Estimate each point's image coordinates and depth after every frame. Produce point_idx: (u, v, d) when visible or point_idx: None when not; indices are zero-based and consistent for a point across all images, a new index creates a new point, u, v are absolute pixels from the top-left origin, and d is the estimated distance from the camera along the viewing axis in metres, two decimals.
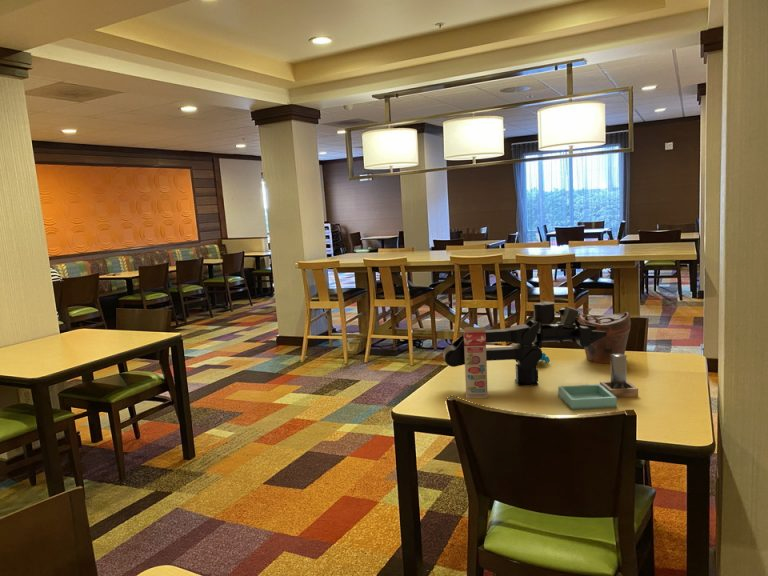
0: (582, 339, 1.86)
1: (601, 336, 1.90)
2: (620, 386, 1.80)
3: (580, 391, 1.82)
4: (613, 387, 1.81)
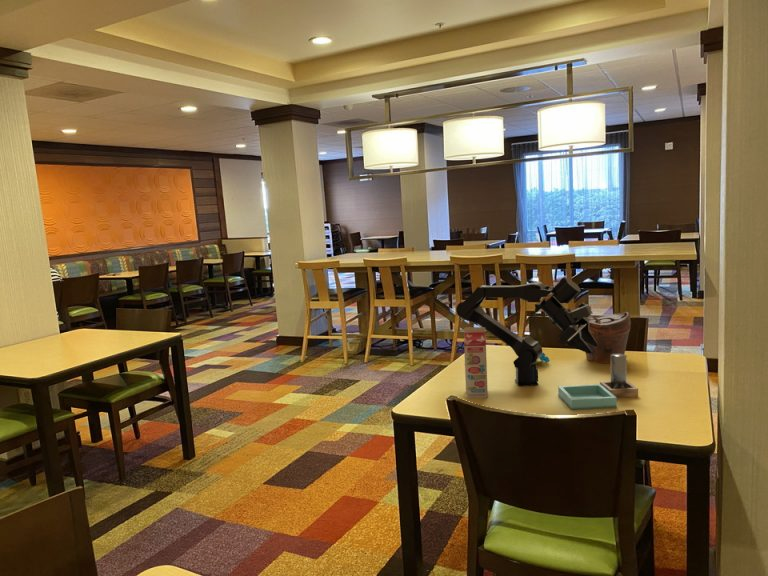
0: (563, 334, 1.79)
1: (583, 349, 1.81)
2: (620, 386, 1.80)
3: (580, 391, 1.82)
4: (613, 387, 1.81)
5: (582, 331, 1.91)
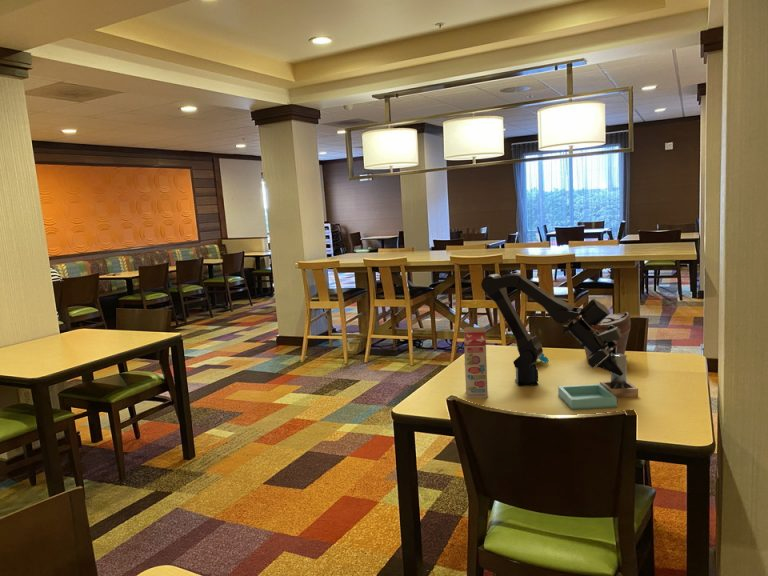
0: (593, 358, 1.76)
1: (614, 371, 1.79)
2: (620, 386, 1.80)
3: (580, 391, 1.82)
4: (613, 387, 1.81)
5: None
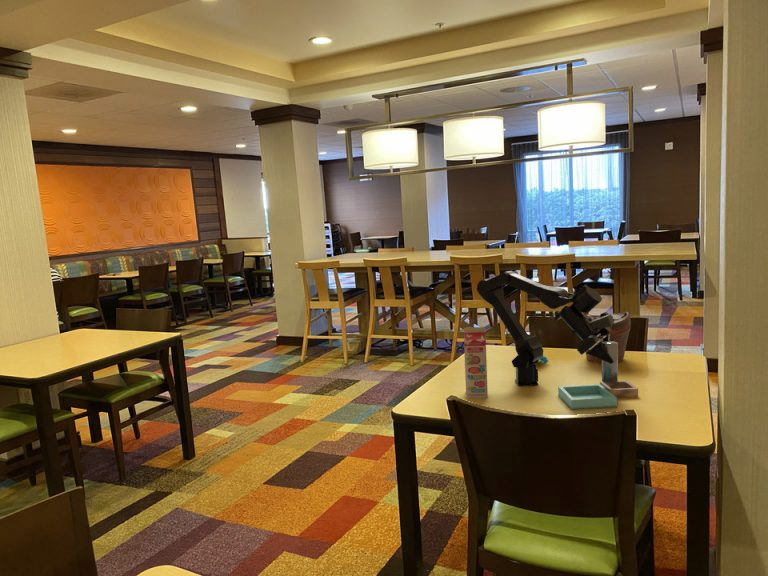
0: (582, 344, 1.73)
1: (605, 359, 1.76)
2: (611, 374, 1.77)
3: (580, 391, 1.82)
4: (603, 375, 1.78)
5: None
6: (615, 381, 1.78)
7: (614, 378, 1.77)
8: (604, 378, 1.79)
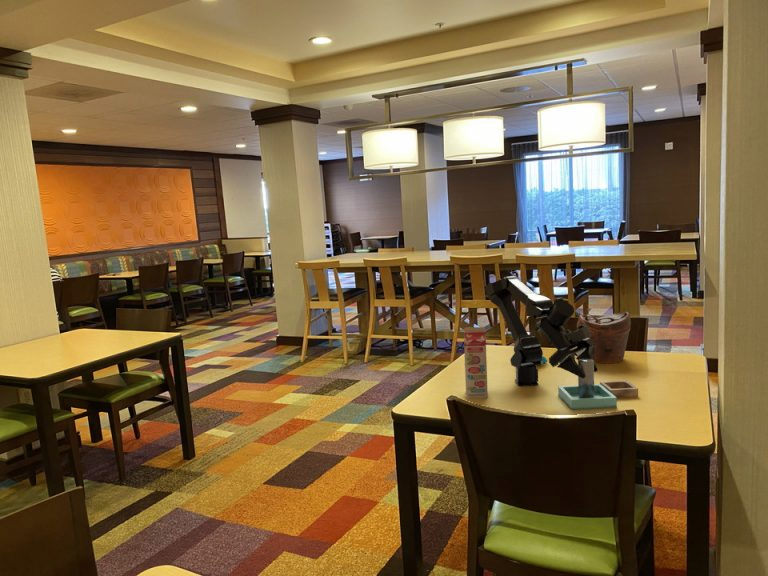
0: (552, 356, 1.72)
1: (576, 373, 1.73)
2: (586, 392, 1.74)
3: None
4: (579, 393, 1.76)
5: (583, 354, 1.80)
6: None
7: (589, 396, 1.74)
8: (579, 395, 1.76)
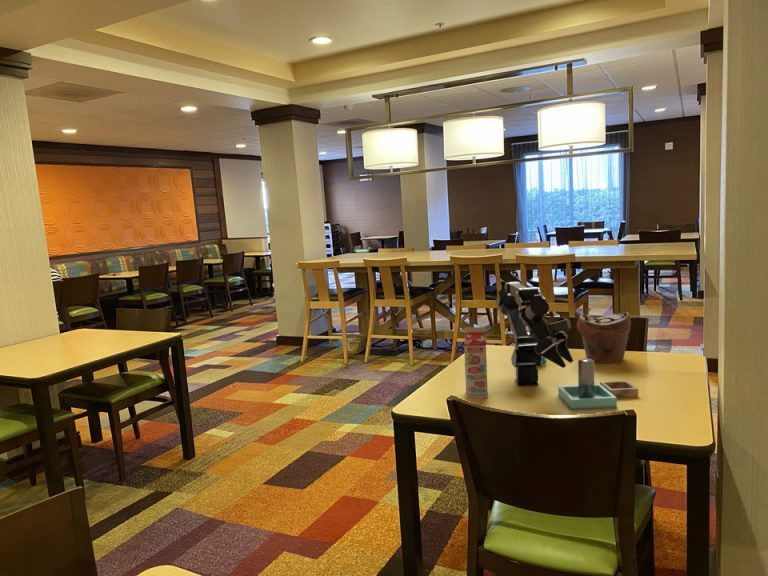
0: (539, 344, 1.77)
1: (558, 363, 1.78)
2: (586, 392, 1.74)
3: None
4: (579, 393, 1.76)
5: (559, 345, 1.88)
6: None
7: (589, 396, 1.74)
8: (579, 395, 1.76)
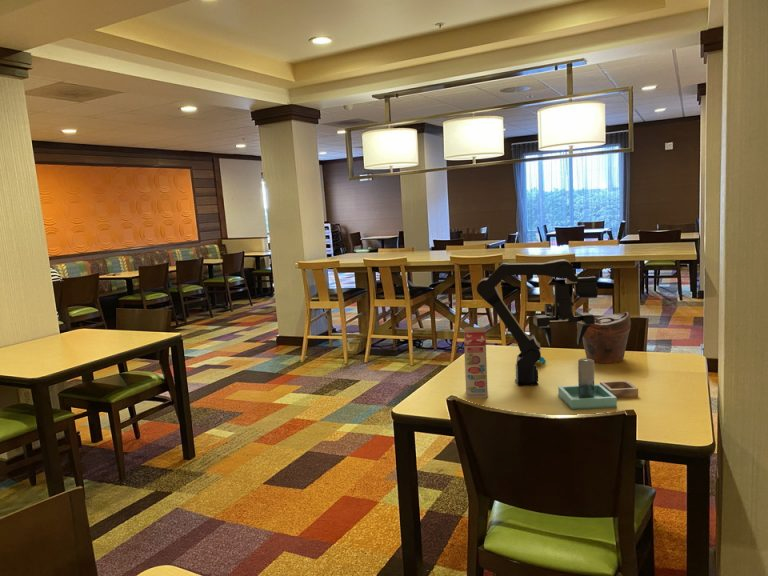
0: None
1: None
2: (586, 392, 1.74)
3: None
4: (579, 393, 1.76)
5: None
6: None
7: (589, 396, 1.74)
8: (579, 395, 1.76)
